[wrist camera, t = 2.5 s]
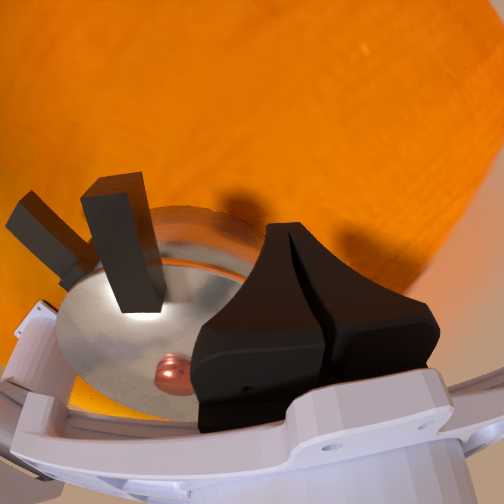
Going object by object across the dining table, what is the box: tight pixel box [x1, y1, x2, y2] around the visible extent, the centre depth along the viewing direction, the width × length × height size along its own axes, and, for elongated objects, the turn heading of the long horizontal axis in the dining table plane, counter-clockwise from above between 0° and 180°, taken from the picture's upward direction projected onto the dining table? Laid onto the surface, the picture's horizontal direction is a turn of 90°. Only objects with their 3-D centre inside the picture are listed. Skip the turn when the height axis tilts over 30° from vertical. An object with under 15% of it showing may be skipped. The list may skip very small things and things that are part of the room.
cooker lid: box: [56, 172, 247, 422], centre depth 18 cm, size 22×18×3 cm
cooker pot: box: [5, 190, 265, 292], centre depth 21 cm, size 23×17×6 cm
